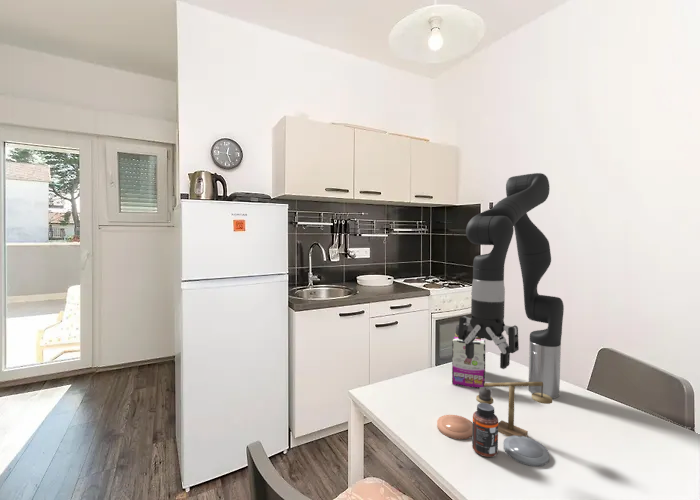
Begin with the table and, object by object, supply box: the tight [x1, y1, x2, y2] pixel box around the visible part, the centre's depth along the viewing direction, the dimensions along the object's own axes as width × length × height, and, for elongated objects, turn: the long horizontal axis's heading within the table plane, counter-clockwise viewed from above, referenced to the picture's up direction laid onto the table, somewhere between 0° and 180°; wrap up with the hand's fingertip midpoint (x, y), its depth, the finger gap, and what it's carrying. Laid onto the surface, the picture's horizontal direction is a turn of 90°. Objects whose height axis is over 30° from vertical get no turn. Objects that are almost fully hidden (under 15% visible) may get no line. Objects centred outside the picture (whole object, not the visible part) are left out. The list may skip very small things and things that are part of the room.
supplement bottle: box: [471, 402, 499, 458], centre depth 84 cm, size 6×6×11 cm
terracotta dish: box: [436, 414, 473, 440], centre depth 94 cm, size 10×10×1 cm
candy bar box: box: [451, 336, 486, 390], centre depth 121 cm, size 11×5×16 cm, turn 68°
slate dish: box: [503, 436, 550, 467], centre depth 83 cm, size 10×10×1 cm
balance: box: [475, 381, 554, 437], centre depth 91 cm, size 5×20×17 cm, turn 41°
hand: (486, 362), depth 83 cm, fingers open, 8 cm apart
